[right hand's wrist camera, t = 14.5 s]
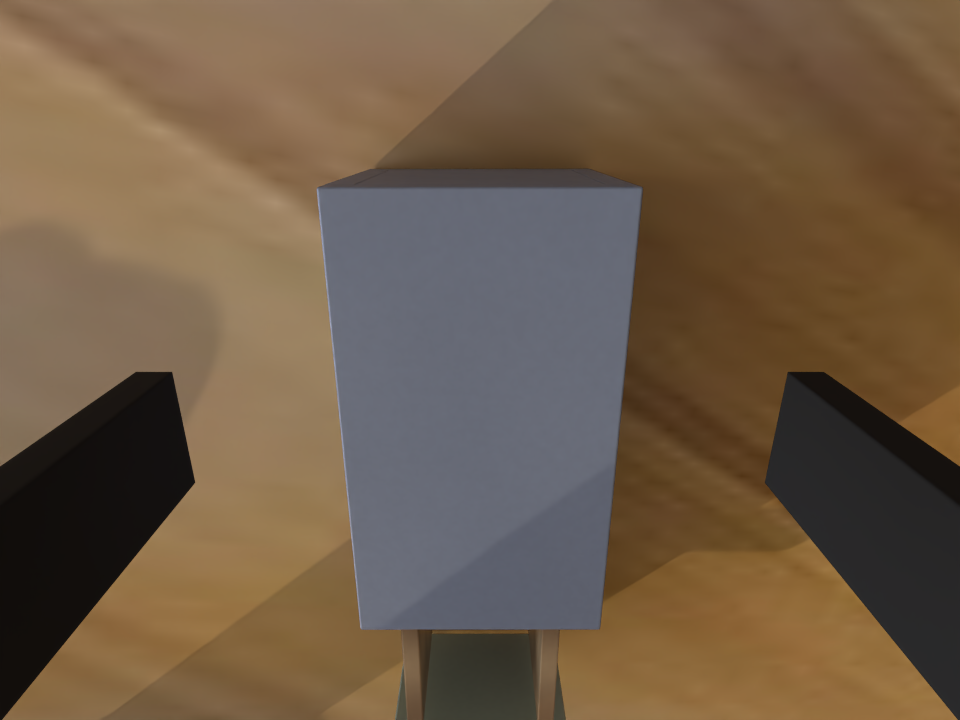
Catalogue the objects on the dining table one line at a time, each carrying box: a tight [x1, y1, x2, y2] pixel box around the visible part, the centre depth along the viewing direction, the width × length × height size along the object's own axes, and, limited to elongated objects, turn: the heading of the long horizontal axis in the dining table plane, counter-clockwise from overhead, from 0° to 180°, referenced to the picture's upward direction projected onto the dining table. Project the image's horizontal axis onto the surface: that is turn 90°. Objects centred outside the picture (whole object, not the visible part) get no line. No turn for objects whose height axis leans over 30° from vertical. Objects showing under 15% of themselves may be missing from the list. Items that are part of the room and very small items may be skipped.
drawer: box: [395, 629, 566, 720], centre depth 31 cm, size 22×9×7 cm, turn 0°
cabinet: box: [317, 169, 643, 630], centre depth 26 cm, size 18×10×9 cm, turn 0°
